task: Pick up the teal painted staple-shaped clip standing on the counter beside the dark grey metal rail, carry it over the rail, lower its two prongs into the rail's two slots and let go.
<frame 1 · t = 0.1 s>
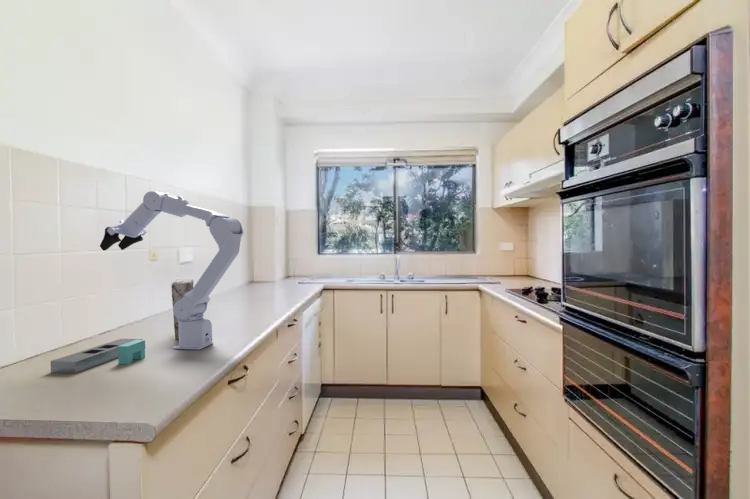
hand: (111, 247, 133), 32 cm above the countertop, tool tilted 50°, fingers open, 7 cm apart
stone block: (184, 335, 145), on the countertop
clip: (132, 360, 115), on the countertop
rail: (101, 359, 116), on the countertop
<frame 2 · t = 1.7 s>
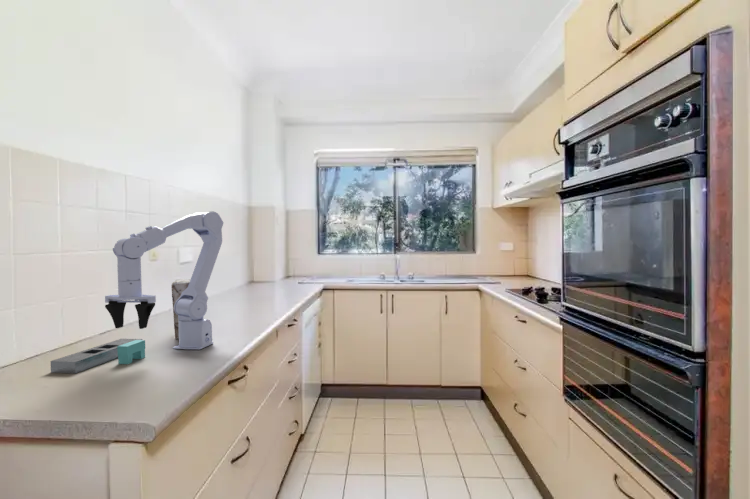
hand: (131, 327, 115), 9 cm above the countertop, tool pointing down, fingers open, 7 cm apart
nothing on the countertop moved.
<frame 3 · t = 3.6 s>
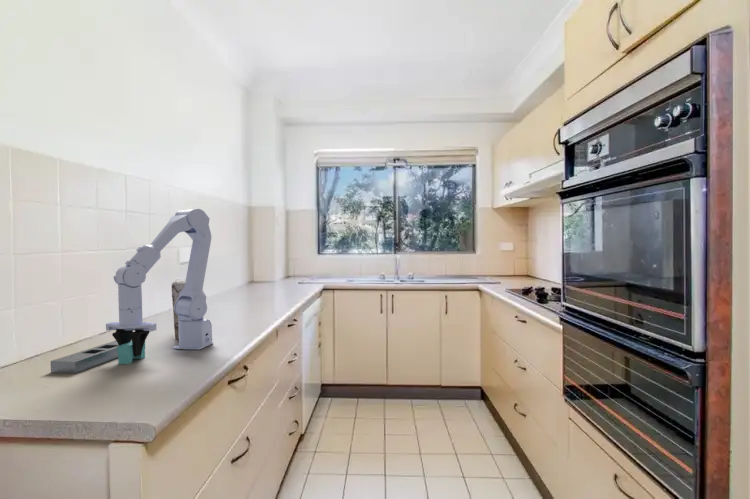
hand: (131, 355, 115), 1 cm above the countertop, tool pointing down, fingers closed on clip, 3 cm apart
clip: (132, 360, 115), on the countertop, touching gripper
everything else where it was.
when the fingers open (4 cm above the countertop, at t = 7.0 s): clip stays where it is, resting on rail.
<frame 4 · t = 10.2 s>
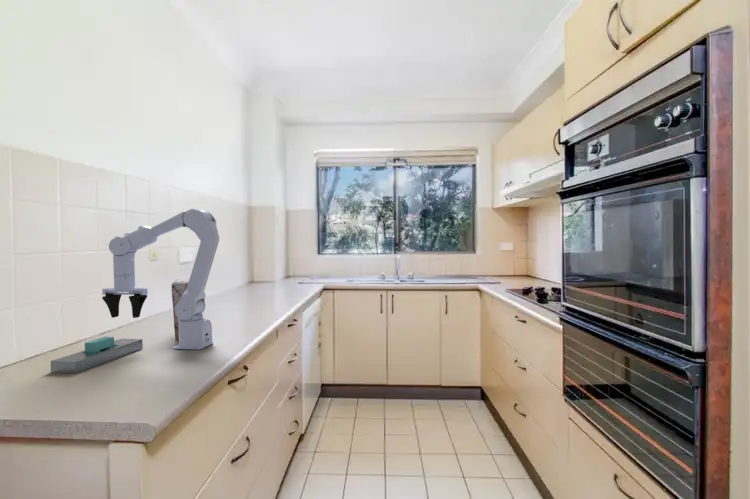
hand: (125, 317, 128), 10 cm above the countertop, tool pointing down, fingers open, 7 cm apart
clip: (100, 356, 116), point 1 cm above the countertop, touching rail
everything else where it was.
at the end: clip 0.3 cm off-centre on the rail, point 0.8 cm above the rail's base; clip tilted 0°; the gripper is holding nothing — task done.
